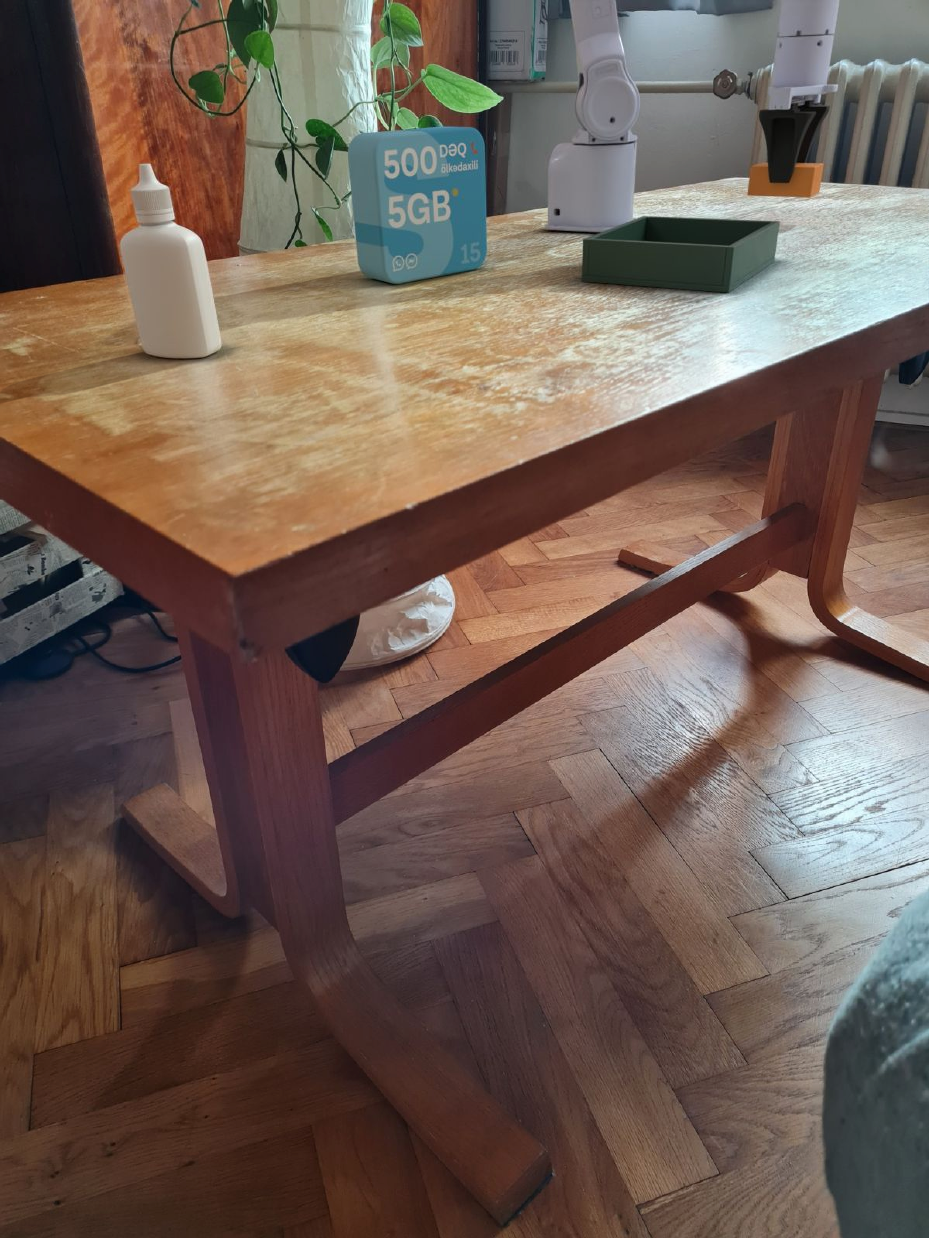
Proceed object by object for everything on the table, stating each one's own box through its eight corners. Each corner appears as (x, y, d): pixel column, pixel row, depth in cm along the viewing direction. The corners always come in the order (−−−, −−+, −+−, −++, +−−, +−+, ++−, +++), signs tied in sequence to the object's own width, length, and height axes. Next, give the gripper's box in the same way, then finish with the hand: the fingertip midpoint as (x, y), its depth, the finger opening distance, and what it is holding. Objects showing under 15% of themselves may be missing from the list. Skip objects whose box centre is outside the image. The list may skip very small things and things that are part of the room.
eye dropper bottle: (192, 339, 66) (156, 159, 60) (230, 352, 63) (196, 163, 56) (137, 352, 64) (93, 166, 57) (173, 366, 60) (131, 169, 54)
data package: (385, 287, 80) (372, 136, 73) (358, 280, 83) (344, 134, 76) (488, 267, 86) (485, 126, 79) (460, 262, 89) (455, 125, 83)
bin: (581, 281, 79) (582, 239, 77) (640, 253, 89) (643, 216, 87) (728, 293, 73) (734, 247, 71) (774, 262, 83) (780, 221, 81)
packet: (746, 195, 101) (750, 166, 99) (757, 191, 104) (761, 162, 103) (810, 197, 98) (815, 167, 96) (819, 192, 101) (824, 163, 99)
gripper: (829, 34, 86) (806, 188, 93) (858, 35, 96) (835, 174, 104) (756, 38, 89) (739, 187, 96) (792, 38, 100) (774, 173, 107)
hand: (785, 180), depth 100 cm, fingers closed on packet, 4 cm apart
